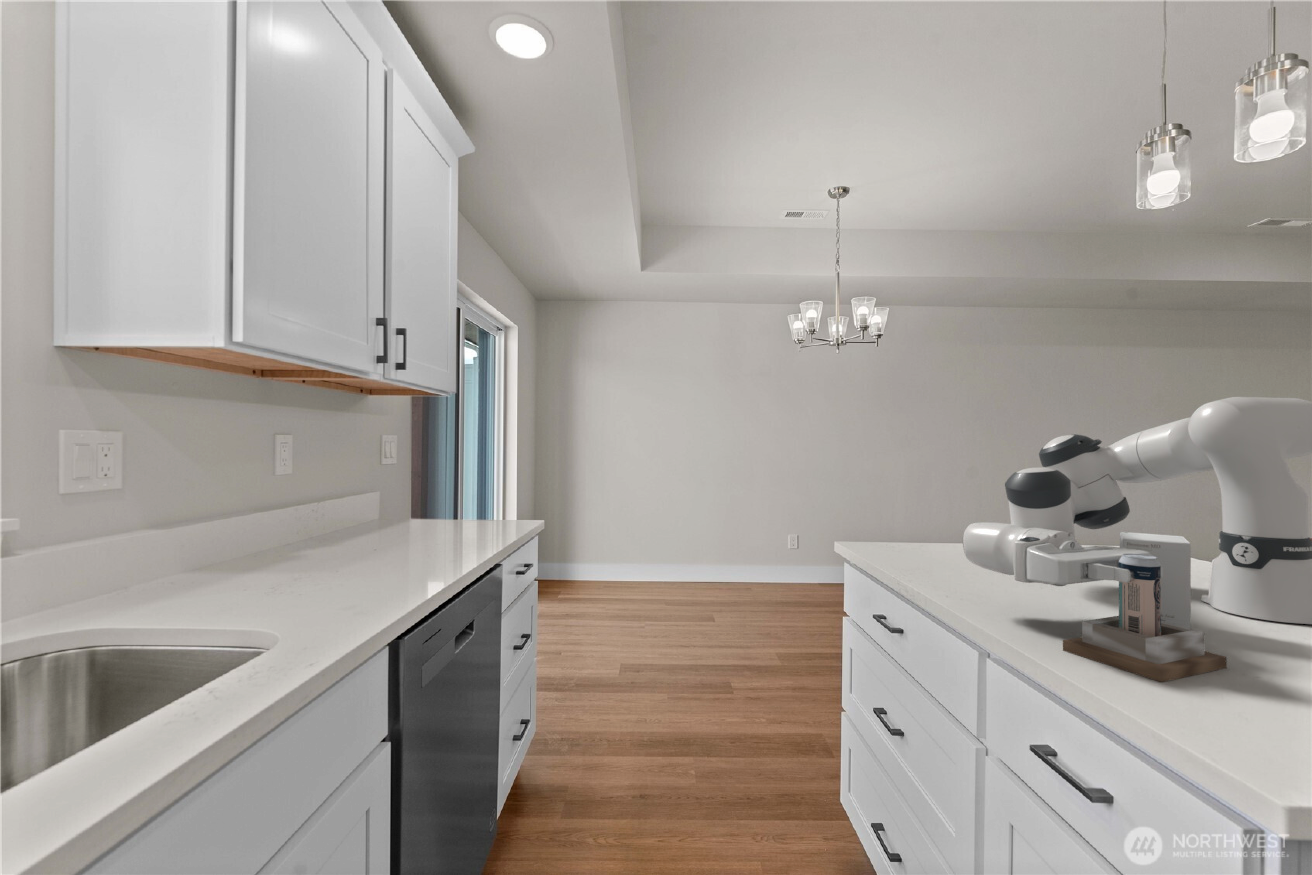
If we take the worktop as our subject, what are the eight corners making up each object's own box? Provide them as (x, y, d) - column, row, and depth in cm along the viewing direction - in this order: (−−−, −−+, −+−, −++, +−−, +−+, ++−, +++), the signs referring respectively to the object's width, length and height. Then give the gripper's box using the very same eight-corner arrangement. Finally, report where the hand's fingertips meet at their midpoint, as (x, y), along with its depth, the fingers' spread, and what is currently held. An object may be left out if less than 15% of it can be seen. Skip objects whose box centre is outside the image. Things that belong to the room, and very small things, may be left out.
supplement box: (1121, 626, 103) (1120, 537, 103) (1118, 614, 110) (1117, 530, 111) (1192, 636, 98) (1191, 542, 98) (1184, 622, 105) (1184, 535, 105)
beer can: (1169, 646, 85) (1169, 559, 85) (1131, 644, 86) (1130, 558, 86) (1147, 635, 90) (1147, 553, 90) (1111, 633, 91) (1111, 552, 91)
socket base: (1125, 639, 96) (1124, 610, 96) (1226, 667, 84) (1226, 634, 84) (1062, 650, 91) (1062, 619, 91) (1161, 682, 79) (1161, 647, 79)
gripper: (1095, 571, 104) (1191, 590, 91) (1007, 581, 96) (1097, 603, 83) (1095, 534, 104) (1191, 547, 91) (1007, 541, 96) (1097, 556, 83)
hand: (1145, 574), depth 87 cm, fingers closed on beer can, 5 cm apart
